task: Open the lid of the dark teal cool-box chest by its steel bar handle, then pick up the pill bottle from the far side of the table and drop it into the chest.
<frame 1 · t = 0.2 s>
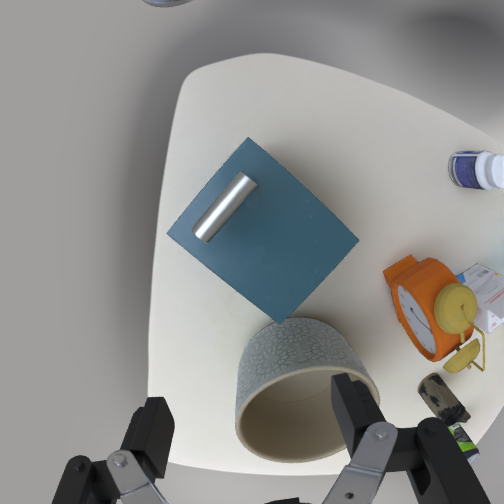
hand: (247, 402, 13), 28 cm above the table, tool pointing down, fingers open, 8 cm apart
beverage can: (442, 423, 52), on the table
planter: (291, 352, 44), on the table
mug: (431, 384, 48), on the table
alarm clock: (403, 289, 42), on the table
ink box: (462, 283, 43), on the table
lid: (267, 241, 26), point 14 cm above the table, hinge at 0.0°
pill bottle: (458, 169, 38), on the table
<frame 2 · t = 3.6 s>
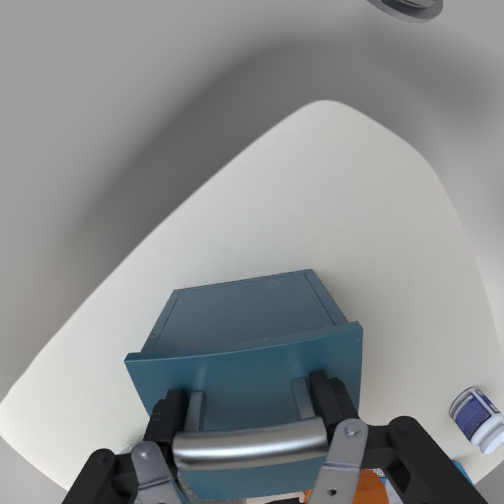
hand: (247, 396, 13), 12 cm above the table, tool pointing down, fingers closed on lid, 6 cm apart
chest: (254, 349, 26), on the table
planter: (181, 460, 31), on the table
alarm clock: (328, 470, 32), on the table
ink box: (378, 483, 35), on the table
lid: (263, 469, 13), point 14 cm above the table, hinge at 0.0°, touching gripper
pill bottle: (463, 400, 31), on the table
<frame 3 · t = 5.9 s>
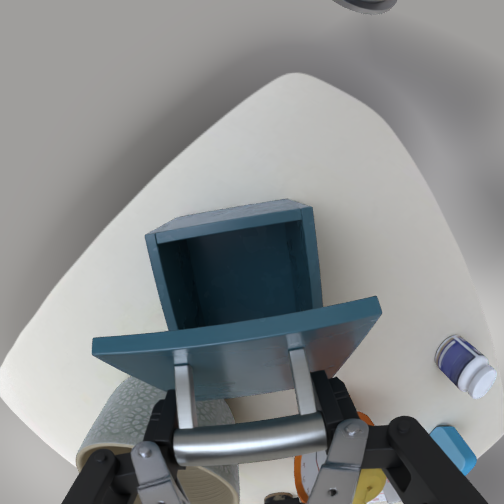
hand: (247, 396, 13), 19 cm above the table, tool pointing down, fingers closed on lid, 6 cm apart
chest: (242, 271, 32), on the table
planter: (176, 402, 36), on the table
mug: (280, 499, 43), on the table
alarm clock: (319, 418, 37), on the table
ink box: (371, 442, 40), on the table
lid: (254, 410, 15), point 18 cm above the table, hinge at 41.9°, touching gripper
pill bottle: (447, 350, 36), on the table
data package: (426, 444, 41), on the table
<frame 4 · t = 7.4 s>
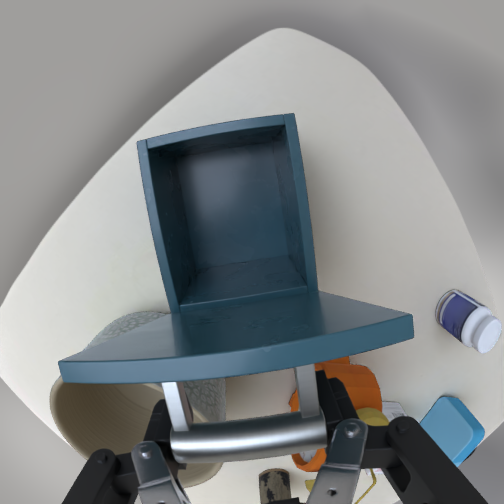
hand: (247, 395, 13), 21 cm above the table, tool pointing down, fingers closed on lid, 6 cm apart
chest: (232, 205, 32), on the table
planter: (164, 355, 36), on the table
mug: (276, 477, 43), on the table
alarm clock: (315, 378, 37), on the table
ink box: (372, 411, 40), on the table
lid: (245, 365, 15), point 19 cm above the table, hinge at 72.4°, touching gripper
pill bottle: (448, 306, 36), on the table
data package: (430, 417, 41), on the table
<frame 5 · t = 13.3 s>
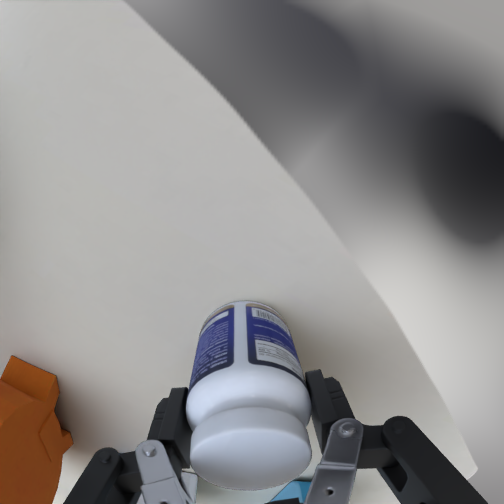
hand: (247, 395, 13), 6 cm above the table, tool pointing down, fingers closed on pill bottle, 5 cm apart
alarm clock: (42, 402, 20), on the table
ink box: (155, 473, 23), on the table
pill bottle: (245, 336, 19), on the table, touching gripper
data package: (289, 499, 25), on the table
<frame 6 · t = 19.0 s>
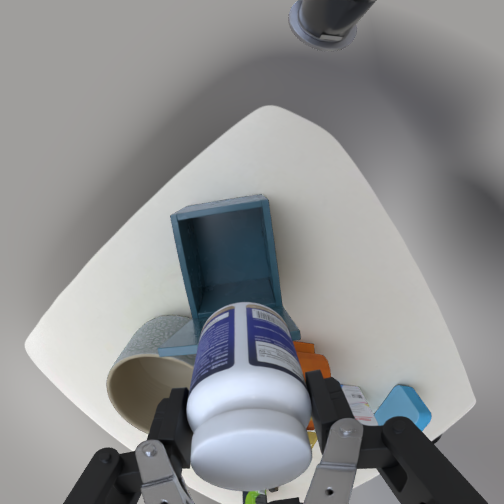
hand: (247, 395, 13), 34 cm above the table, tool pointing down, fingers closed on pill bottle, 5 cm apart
beverage can: (253, 483, 63), on the table
chest: (230, 243, 46), on the table
planter: (181, 346, 51), on the table
alarm clock: (290, 363, 52), on the table
ink box: (337, 392, 55), on the table
lid: (236, 348, 30), point 19 cm above the table, hinge at 73.2°
pill bottle: (245, 337, 19), point 28 cm above the table, touching gripper
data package: (389, 402, 57), on the table
when the fingers open (12 cm above the table, at t = 24.6 s): pill bottle drops 6 cm, resting on chest.
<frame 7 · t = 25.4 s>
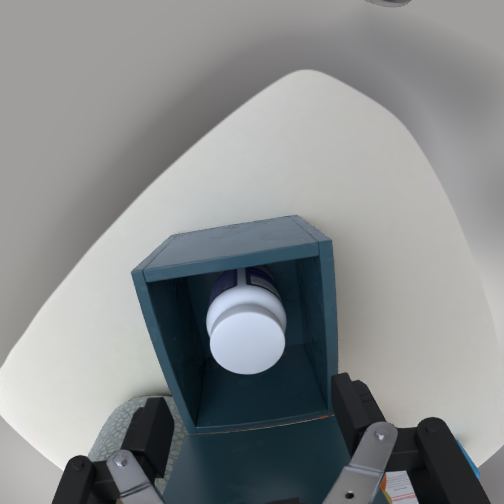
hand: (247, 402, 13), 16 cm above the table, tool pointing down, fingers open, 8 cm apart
chest: (245, 294, 28), on the table
planter: (174, 424, 33), on the table
ink box: (375, 458, 37), on the table
pill bottle: (244, 287, 28), point 1 cm above the table, touching chest
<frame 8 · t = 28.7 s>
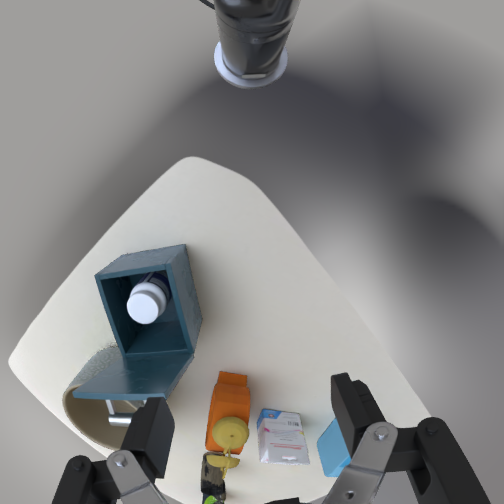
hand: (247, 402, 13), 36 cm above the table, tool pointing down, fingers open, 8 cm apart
beverage can: (213, 490, 66), on the table
chest: (161, 287, 49), on the table
planter: (130, 371, 54), on the table
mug: (216, 458, 62), on the table
alarm clock: (228, 391, 55), on the table
ink box: (277, 417, 58), on the table
lid: (143, 391, 33), point 19 cm above the table, hinge at 73.2°
pill bottle: (159, 283, 48), point 1 cm above the table, touching chest
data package: (335, 427, 60), on the table
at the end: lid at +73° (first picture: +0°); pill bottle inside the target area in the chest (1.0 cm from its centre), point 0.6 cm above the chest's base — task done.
